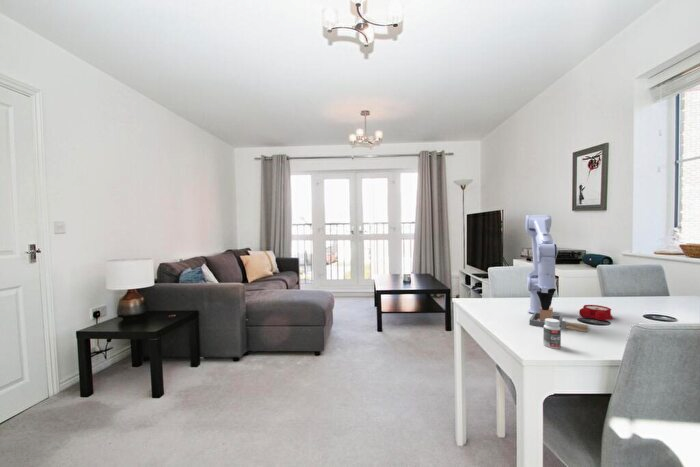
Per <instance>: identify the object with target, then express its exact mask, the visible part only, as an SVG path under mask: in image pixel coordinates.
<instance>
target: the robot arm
mask: <svg viewBox="0 0 700 467" xmlns="http://www.w3.org/2000/svg"><path fill="white" fill-rule="evenodd" d="M551 227H552V215H550V214H531V215H530V214H527V215H525V232H526V235H528V236H530V239H531V247H532V248H531V249H532V251H531V252H532V266H533V267H532V268H533V270H531V271H530V272H528V273H527V275H526V289H527V291H528V292H530V293H529V294H530V296H529V297H530V299H529V300H530V302H529V303H530V304H529V310H528V312H527V313H529V314H533V313H534V312H537V313H540V307H542V310H549V307H551V306H552V301H553V296H554V294H555V293H556V290H557V288H556V259H557V256H558V244H557V243H556V242H554V241H553V237H552V234H551V233H550V231H551Z"/></svg>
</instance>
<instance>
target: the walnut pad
mask: <svg viewBox="0 0 700 467" xmlns="http://www.w3.org/2000/svg"><path fill="white" fill-rule="evenodd" d="M588 327H589V326H588V324H583V323H576V322H569V321H568V322H567V323H566V327H565V329H566V330H570V331H577V332H584V333H588Z"/></svg>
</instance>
